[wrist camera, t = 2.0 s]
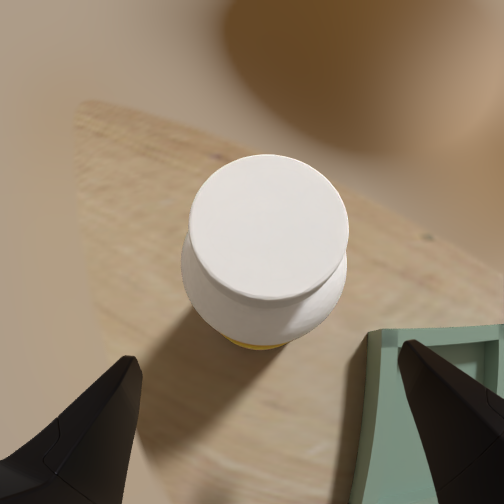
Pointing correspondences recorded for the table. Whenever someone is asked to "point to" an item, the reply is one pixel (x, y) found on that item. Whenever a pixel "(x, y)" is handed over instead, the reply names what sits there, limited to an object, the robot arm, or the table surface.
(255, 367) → the table surface
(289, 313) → the supplement bottle
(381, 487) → the tub
